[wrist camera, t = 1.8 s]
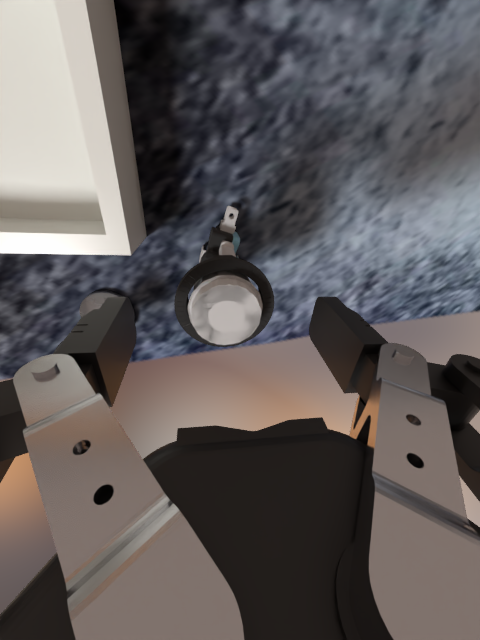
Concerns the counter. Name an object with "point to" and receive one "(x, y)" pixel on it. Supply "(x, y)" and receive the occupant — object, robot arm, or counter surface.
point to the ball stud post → (96, 302)
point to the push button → (224, 292)
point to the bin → (65, 132)
